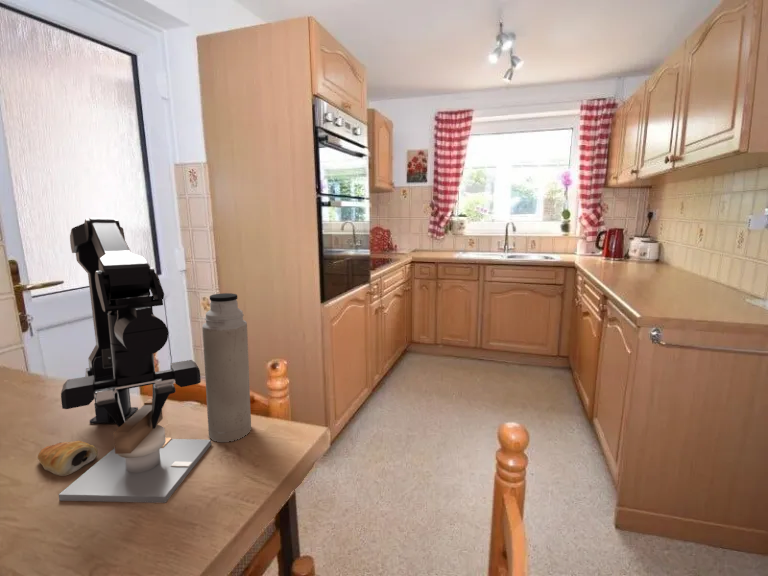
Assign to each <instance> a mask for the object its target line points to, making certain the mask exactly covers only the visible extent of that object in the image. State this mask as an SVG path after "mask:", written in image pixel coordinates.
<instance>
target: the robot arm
mask: <svg viewBox="0 0 768 576" xmlns="http://www.w3.org/2000/svg"><path fill="white" fill-rule="evenodd" d="M124 230H125V229H124V228H123V227H122V226H121V224H120V221H119V219H115V218H114V217H89V218H85V220H84V223H81V224H79V225H77V226H73V227H71V230H70V234H69V242H70V250H71V253H72V254H75V259H76V262H77V263H78V264H79V266H81V267H82V269H83V270H84V271H85V273H87V277H88V279H87V280H88V286H89V295H90V296H89V297H90V303H91V305H90V306H91V312H92V320H93V329H94V337H95V346H94V348H93V349H92V351H91V353H90V354H89V357H88V368H85V373H84V374H85V376H83V377H77V378H76V377H75V378H69V379H67V380H66V381H65V382H64V383H63V384H62V388H61V392H60V399H61V407H62V409H64V410H69V409H70V410H71V409H74V408H81V407H86V406H89V405H90V404H91V403H92V402H93V401H94V413H95V416H94V417H92V418H91V419H89V423H90V424H114V425H115V424H116V425H117V428H119V427H120V426H121V425H122V424H123V423H125V422H126V420H128V419H129V418H130V417H131V416H132V415H133V414H134V413H136V412H137V411H138V410H139V408H138V407H137V406H134V407H133V406H132V405H131V404H132V402H131V392H130V390H131V389H134V388H139V387H145V386H150V385H152V396H151V397H152V398H151V399H152V414H151V421H152V429H155V427H156V425H158V424H157V422H158V419H159V416H160V413H161V410H162V411H163V408H164V406H165V403H166V402H167V400H168V398H169V396H170V395H171V394H172V395H173V394H175V393H176V387H175V385H177V386H179V387H181V388H183V387H190V386H194V385H199V384H200V383H201V382H202V381H201V371H200V368H199V366H198V365H197V363H196V362H195V361H194V360H193V359H188V360H181V361H175V362H170V369H164V370H160V371H156V368H155V355H154V354H156V353H157V352H159V351H161V350H162V349H163V348H164V346H165V345H166V344H167V341H168V339H169V328H168V327H167V325H166V323H165V322H164V321H163V320H162V319H160V318H159V317H157V316H156V315H155V314H154V310H153V307H160V306H163V305H164V302H163V300H164V298H165V293H164V292H165V291H164V289H163V286H162V283H161V280H160V278H159V277H160V276H159V274H157V273H156V272H155V268H154V267H151V265H150V264H149V262H148V261H147V260H146V259H145V257H144V256H142V255H139V254H135V253H132V251H131V249H130V247H129V245H128V243H127V241H126V238H125V237H126V236H125V232H124ZM174 384H175V385H174Z"/></svg>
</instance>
